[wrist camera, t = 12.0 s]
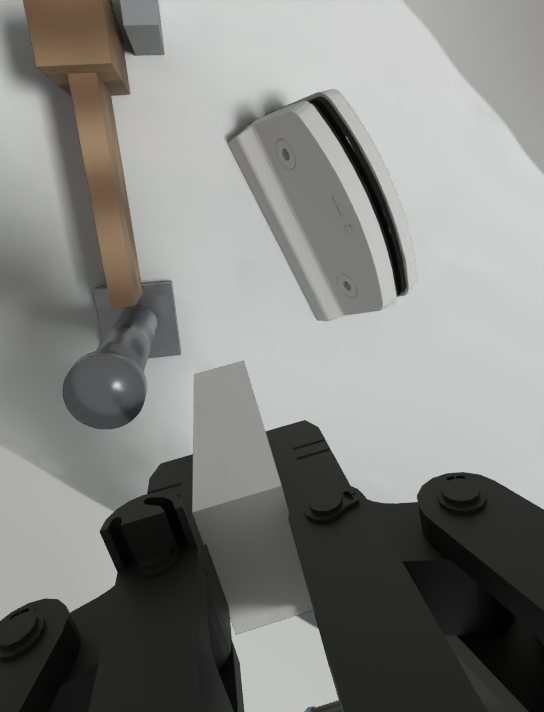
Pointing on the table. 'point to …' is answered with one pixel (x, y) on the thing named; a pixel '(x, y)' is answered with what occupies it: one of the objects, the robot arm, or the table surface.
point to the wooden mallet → (93, 119)
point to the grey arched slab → (329, 204)
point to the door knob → (122, 357)
